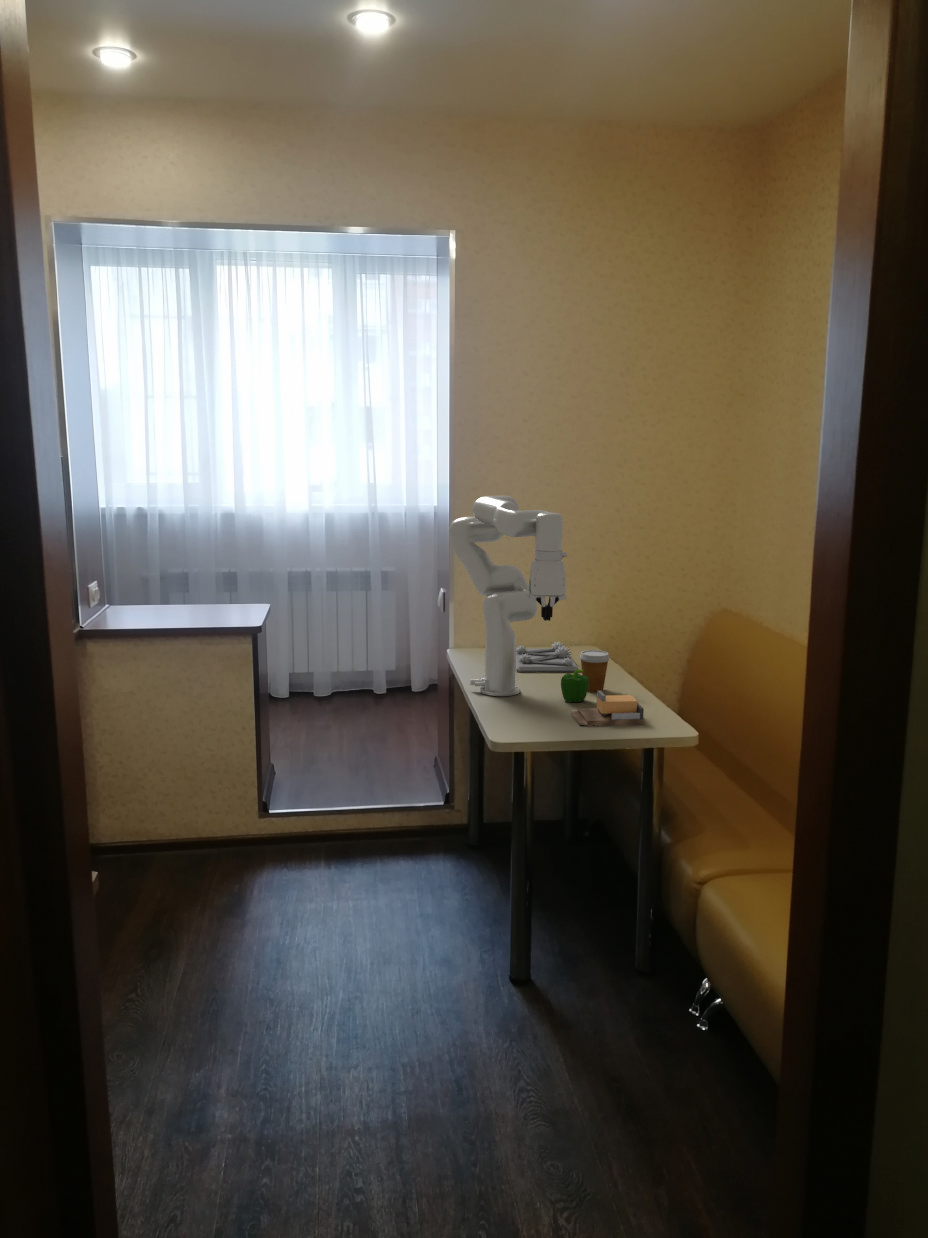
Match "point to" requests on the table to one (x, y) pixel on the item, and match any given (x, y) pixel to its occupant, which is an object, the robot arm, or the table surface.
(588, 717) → the loading dock
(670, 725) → the table surface
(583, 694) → the bell pepper
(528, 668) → the decorative plate
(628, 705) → the orange block
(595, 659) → the disposable coffee cup
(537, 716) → the table surface
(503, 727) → the table surface
